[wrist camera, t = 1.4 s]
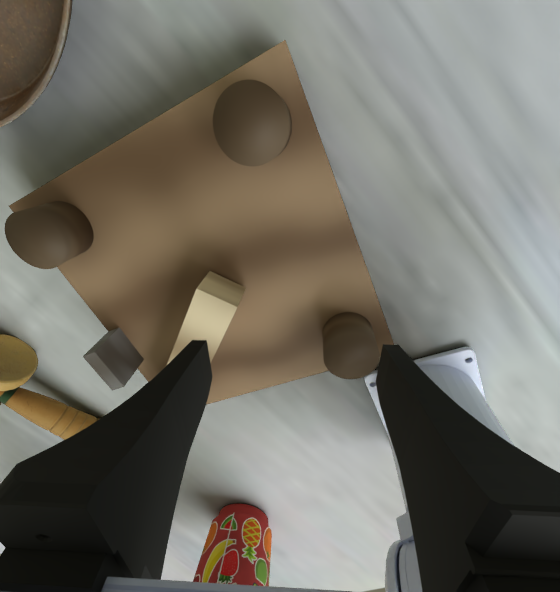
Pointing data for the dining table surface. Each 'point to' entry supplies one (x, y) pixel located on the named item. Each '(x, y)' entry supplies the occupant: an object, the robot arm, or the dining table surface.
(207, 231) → the stool seat
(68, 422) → the kendama
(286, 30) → the dining table surface
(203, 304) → the hinged leg
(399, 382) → the robot arm
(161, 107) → the dining table surface
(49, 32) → the plant saucer
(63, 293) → the dining table surface
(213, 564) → the smoothie
